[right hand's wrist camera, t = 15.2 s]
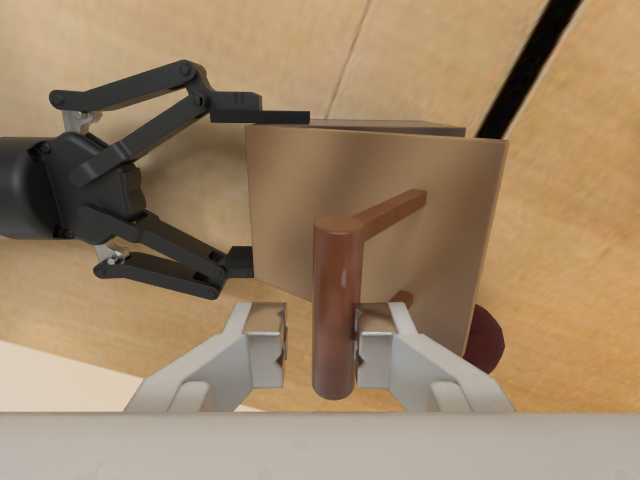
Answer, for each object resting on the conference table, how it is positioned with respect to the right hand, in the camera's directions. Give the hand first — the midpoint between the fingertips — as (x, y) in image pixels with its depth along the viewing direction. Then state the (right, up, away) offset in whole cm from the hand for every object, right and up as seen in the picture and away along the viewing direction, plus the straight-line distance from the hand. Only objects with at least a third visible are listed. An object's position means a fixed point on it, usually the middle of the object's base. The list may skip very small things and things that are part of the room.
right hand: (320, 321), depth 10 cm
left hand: (-1, +6, +15) cm, 16 cm away
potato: (+14, -6, +27) cm, 31 cm away
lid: (+2, +3, +8) cm, 9 cm away
